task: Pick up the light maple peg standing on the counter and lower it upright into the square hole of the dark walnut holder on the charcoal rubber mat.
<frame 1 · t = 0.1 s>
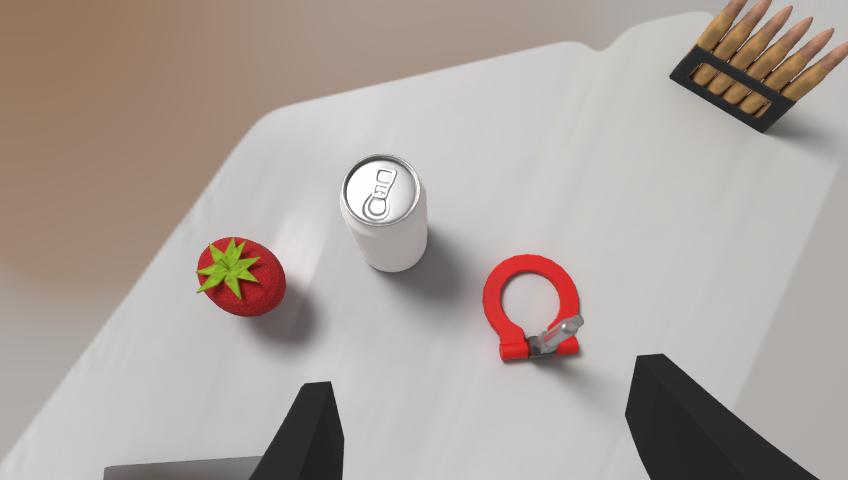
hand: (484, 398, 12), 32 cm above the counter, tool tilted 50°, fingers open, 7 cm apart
ammunition clip: (717, 100, 51), on the counter
can: (393, 240, 47), on the counter
tow hook: (529, 306, 45), on the counter
strawberry: (264, 290, 45), on the counter
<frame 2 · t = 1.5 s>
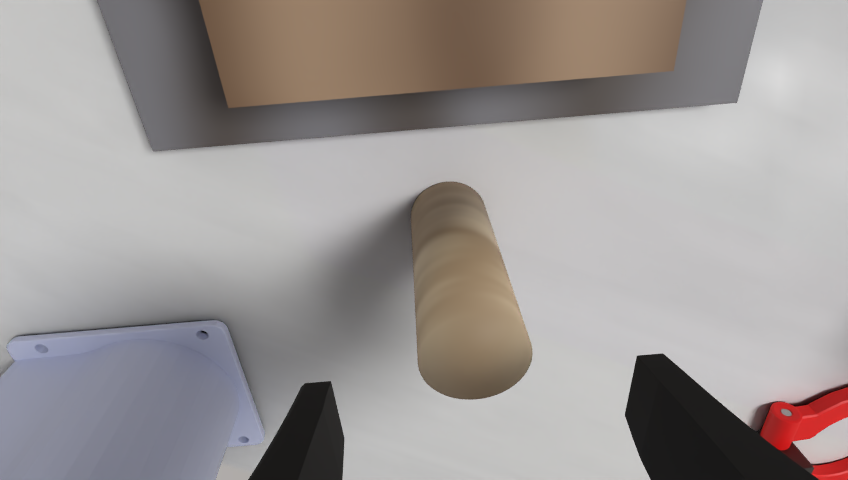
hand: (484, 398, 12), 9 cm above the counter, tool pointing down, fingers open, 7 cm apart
tow hook: (825, 428, 28), on the counter
peg: (448, 216, 20), on the counter
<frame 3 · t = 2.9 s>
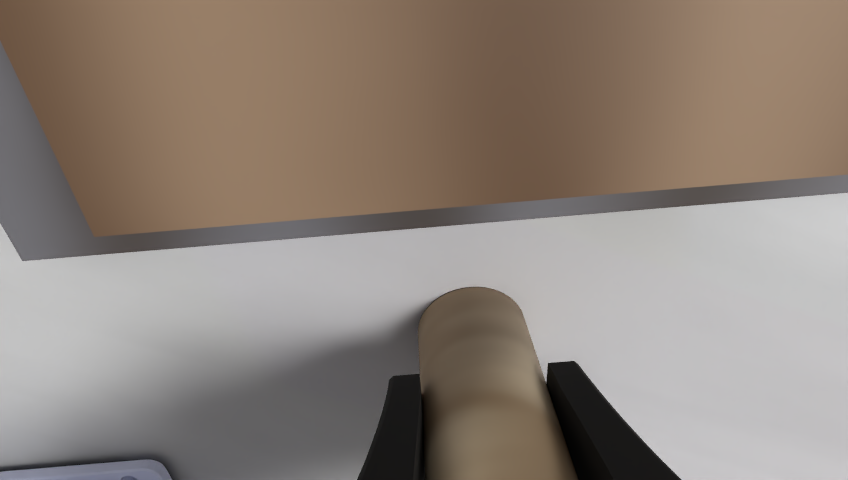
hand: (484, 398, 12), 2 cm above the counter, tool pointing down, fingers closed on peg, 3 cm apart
peg: (471, 330, 14), on the counter, touching gripper
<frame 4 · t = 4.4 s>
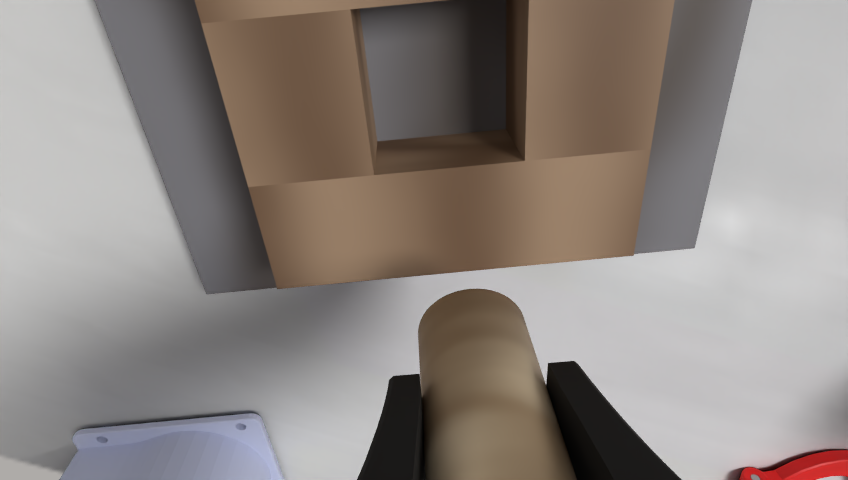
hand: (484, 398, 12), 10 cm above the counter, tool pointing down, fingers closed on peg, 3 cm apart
holder: (435, 62, 17), on the counter
peg: (471, 331, 14), point 7 cm above the counter, touching gripper
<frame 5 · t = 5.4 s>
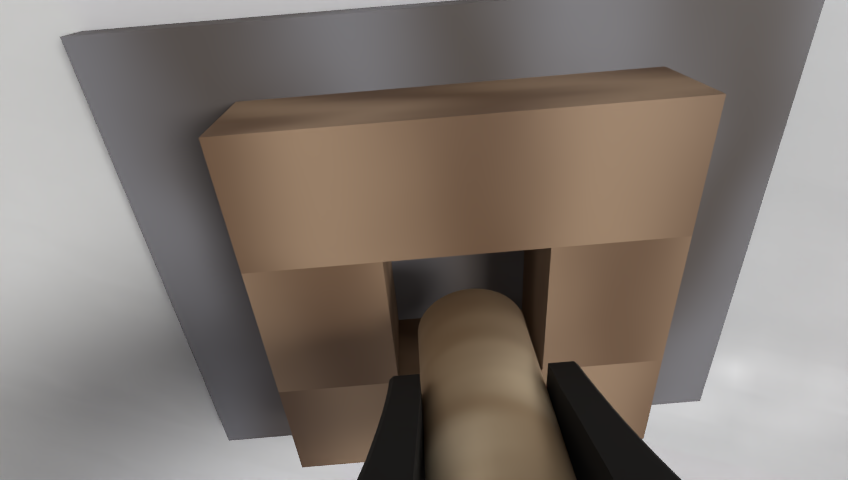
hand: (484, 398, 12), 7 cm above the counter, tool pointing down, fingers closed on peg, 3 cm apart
holder: (455, 247, 18), on the counter
peg: (471, 331, 14), point 4 cm above the counter, touching gripper
when the fingers open (5 cm above the counter, at t = 6.1 s): peg drops 1 cm, resting on holder.
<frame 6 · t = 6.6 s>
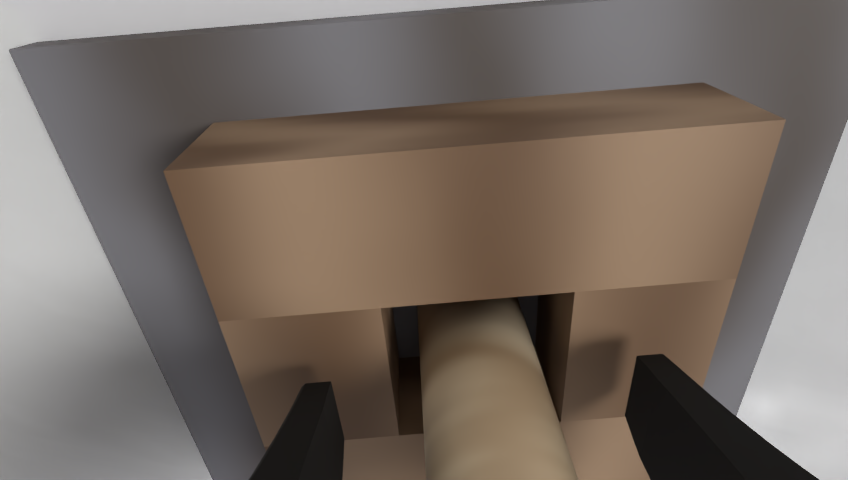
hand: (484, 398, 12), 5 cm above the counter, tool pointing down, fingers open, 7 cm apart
holder: (461, 279, 16), on the counter
peg: (465, 299, 15), point 1 cm above the counter, touching holder
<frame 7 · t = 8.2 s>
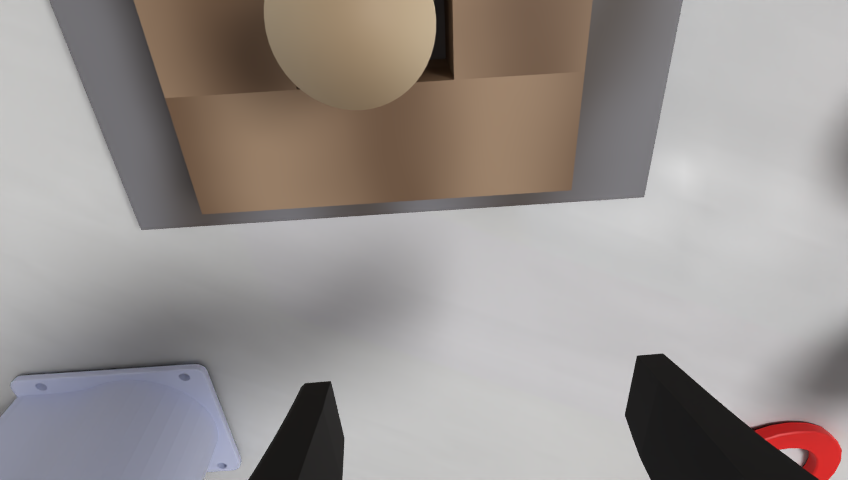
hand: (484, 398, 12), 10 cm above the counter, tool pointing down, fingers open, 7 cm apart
tow hook: (752, 460, 31), on the counter
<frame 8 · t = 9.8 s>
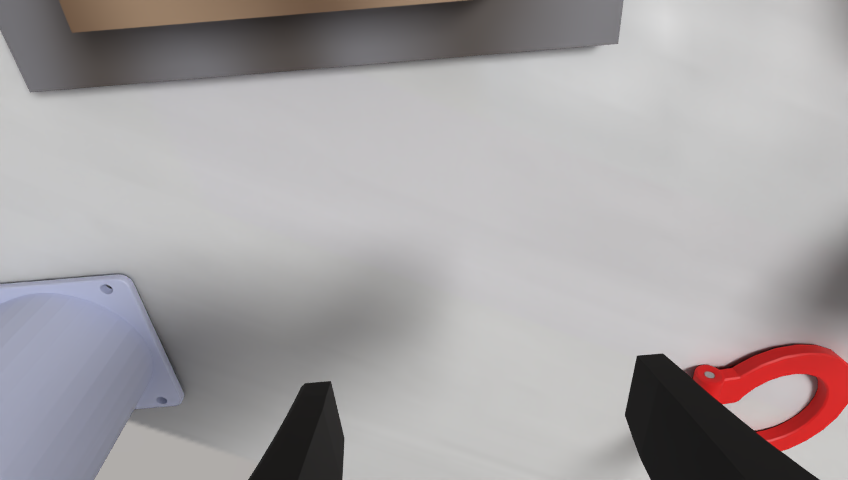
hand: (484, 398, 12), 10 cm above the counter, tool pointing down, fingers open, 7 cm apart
tow hook: (755, 394, 28), on the counter
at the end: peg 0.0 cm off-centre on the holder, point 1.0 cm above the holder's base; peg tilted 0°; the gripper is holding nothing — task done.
